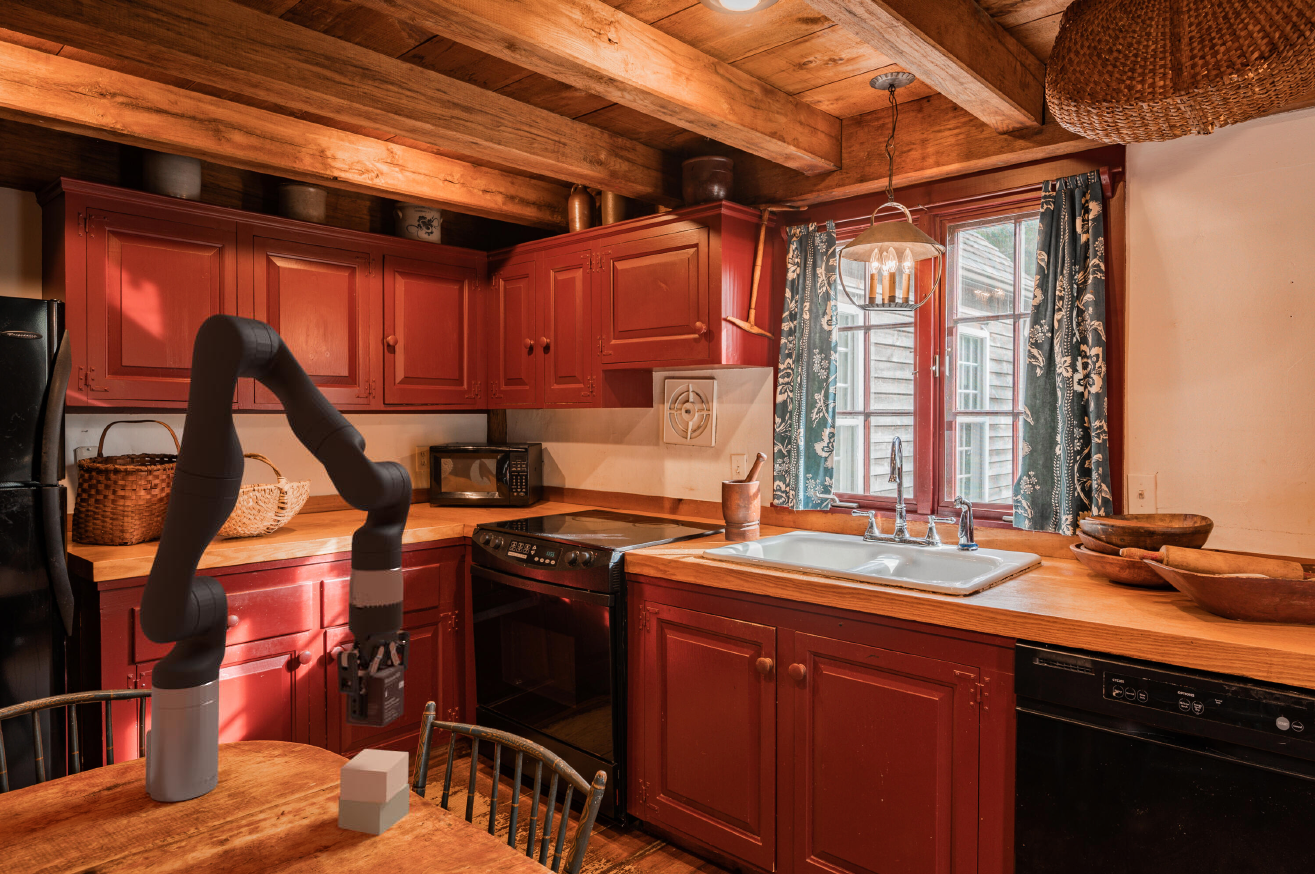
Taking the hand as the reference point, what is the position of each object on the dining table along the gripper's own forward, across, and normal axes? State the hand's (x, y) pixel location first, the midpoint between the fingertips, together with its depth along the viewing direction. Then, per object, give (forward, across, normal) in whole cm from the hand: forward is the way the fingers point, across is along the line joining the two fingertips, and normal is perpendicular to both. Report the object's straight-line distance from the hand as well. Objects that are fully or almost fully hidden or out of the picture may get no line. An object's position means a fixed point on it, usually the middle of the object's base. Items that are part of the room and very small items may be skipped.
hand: (374, 710), depth 117 cm
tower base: (+16, 0, 0) cm, 16 cm away
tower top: (+12, 0, 0) cm, 12 cm away
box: (+1, 0, 0) cm, 1 cm away
